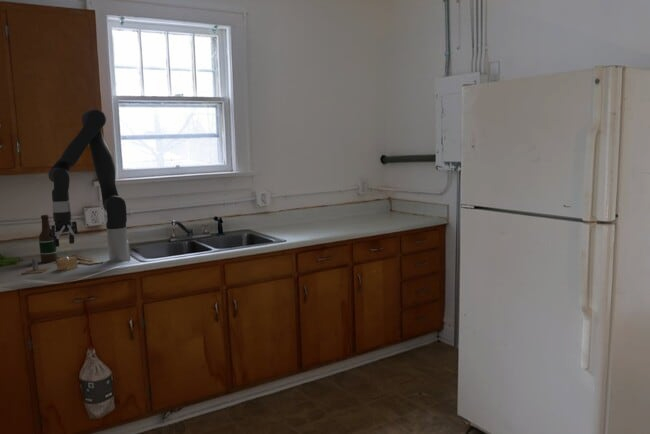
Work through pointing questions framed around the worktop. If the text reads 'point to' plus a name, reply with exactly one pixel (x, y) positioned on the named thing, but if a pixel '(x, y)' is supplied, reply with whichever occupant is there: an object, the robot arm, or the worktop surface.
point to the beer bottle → (46, 243)
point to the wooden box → (35, 268)
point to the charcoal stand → (70, 269)
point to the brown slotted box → (66, 263)
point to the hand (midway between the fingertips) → (64, 245)
